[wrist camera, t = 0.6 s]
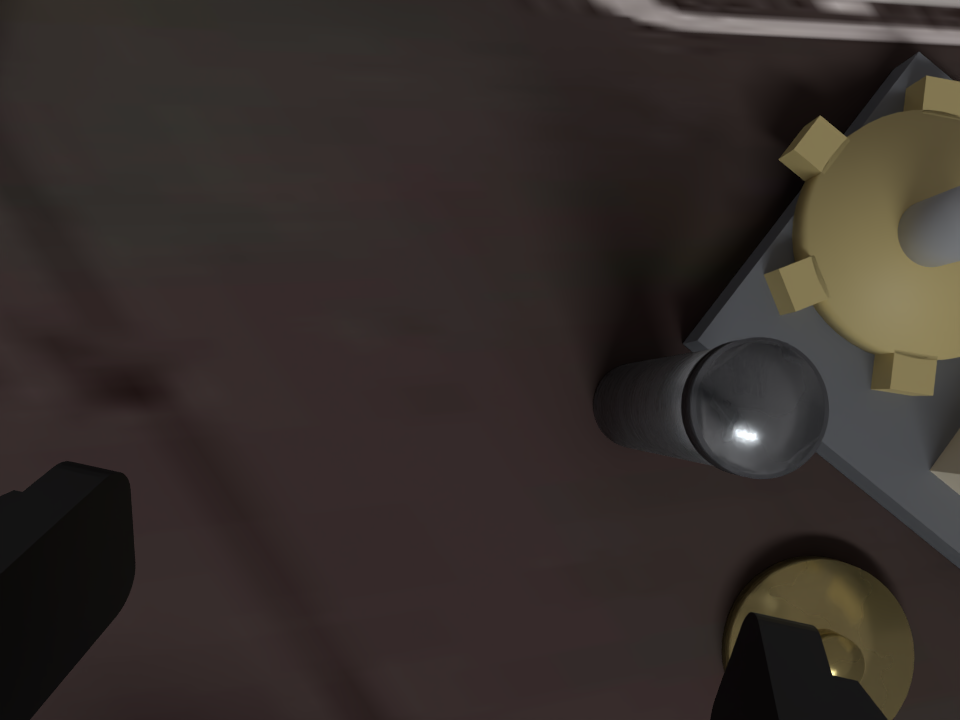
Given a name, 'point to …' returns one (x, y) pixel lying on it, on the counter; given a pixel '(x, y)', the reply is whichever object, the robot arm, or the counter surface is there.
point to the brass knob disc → (836, 622)
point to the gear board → (872, 294)
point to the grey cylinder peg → (720, 407)
